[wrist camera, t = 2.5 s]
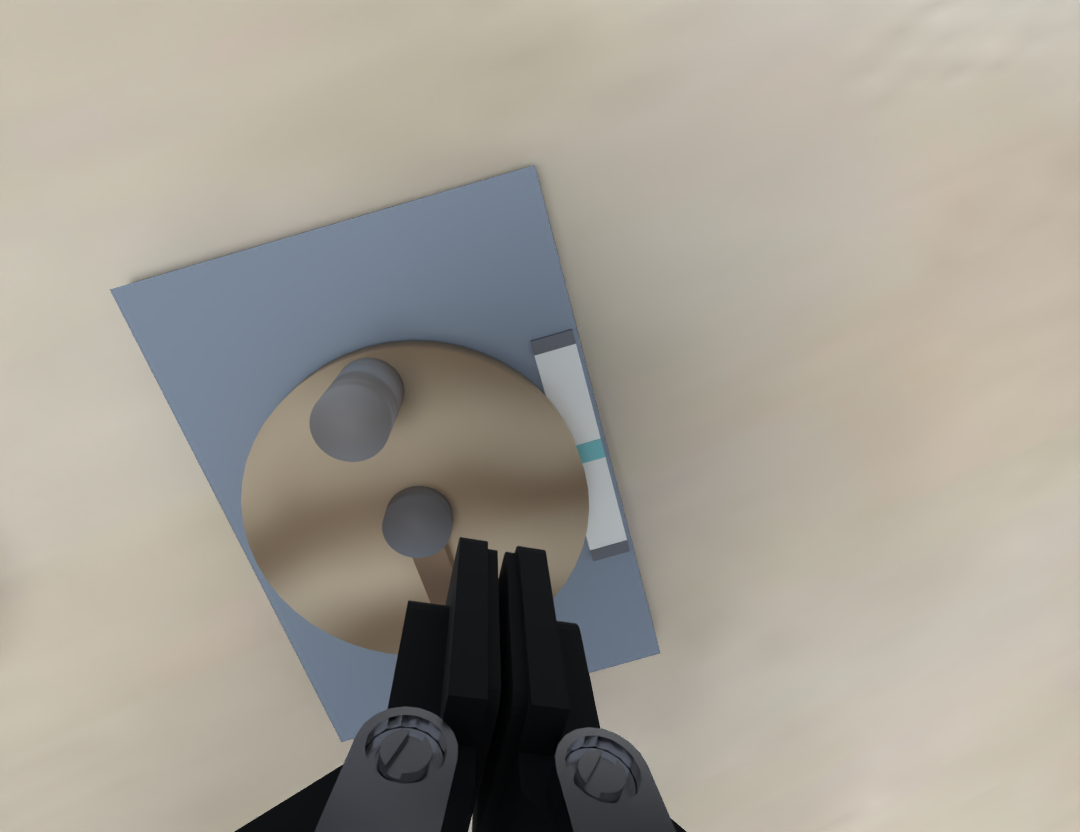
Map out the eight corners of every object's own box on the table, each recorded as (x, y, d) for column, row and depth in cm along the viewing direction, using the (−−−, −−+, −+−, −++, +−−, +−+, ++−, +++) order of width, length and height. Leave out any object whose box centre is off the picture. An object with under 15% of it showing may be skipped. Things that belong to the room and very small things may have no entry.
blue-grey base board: (652, 633, 34) (661, 656, 32) (347, 719, 34) (340, 745, 33) (532, 166, 26) (535, 165, 24) (130, 284, 26) (106, 290, 24)
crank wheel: (620, 603, 31) (647, 687, 26) (336, 683, 31) (306, 781, 26) (536, 297, 26) (548, 325, 20) (194, 396, 26) (122, 448, 21)
